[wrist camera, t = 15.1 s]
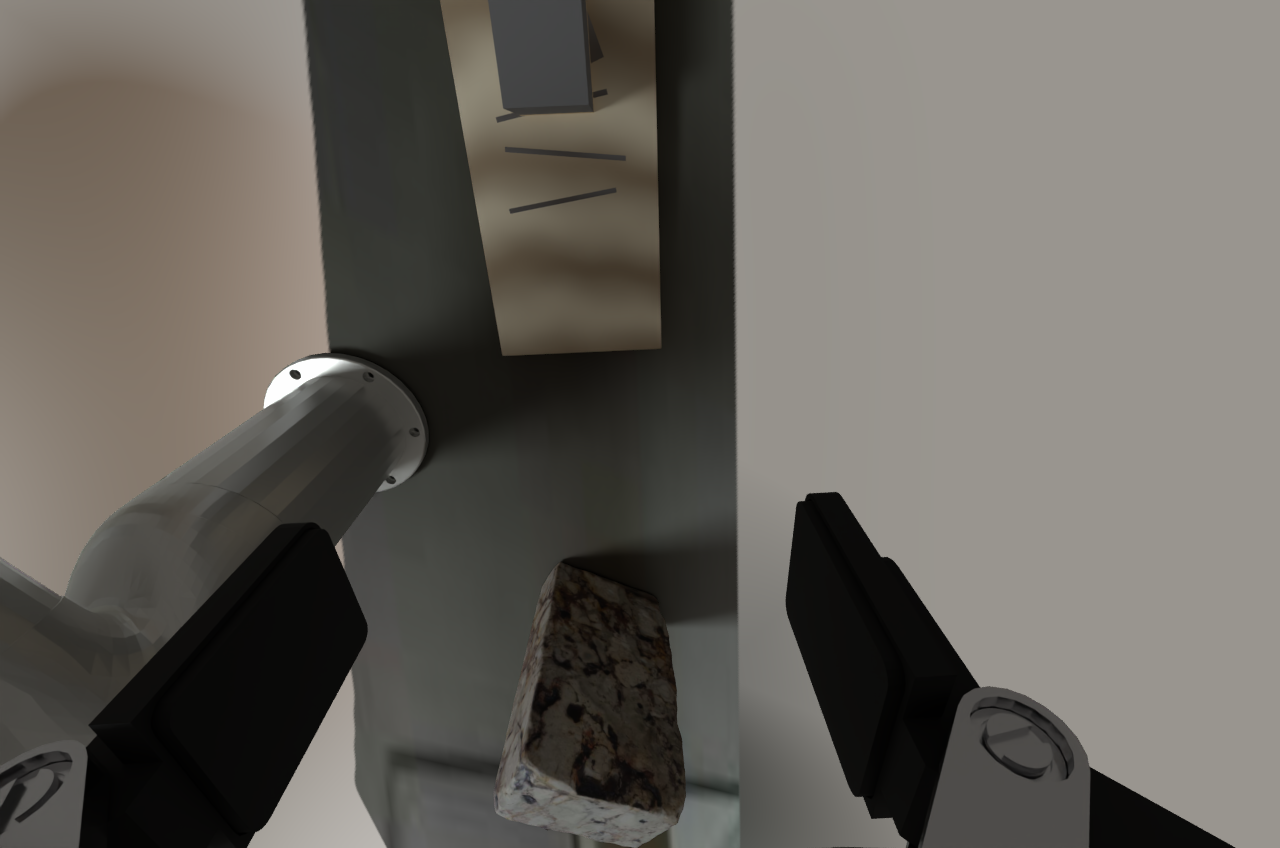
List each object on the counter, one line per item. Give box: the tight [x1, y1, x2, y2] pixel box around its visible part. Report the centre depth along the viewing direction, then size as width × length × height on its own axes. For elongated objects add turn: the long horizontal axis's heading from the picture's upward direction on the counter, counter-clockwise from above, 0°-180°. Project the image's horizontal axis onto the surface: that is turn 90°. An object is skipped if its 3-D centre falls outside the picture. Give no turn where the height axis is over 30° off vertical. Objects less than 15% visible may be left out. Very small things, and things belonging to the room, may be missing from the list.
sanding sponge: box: [488, 0, 594, 116], centre depth 27 cm, size 8×4×5 cm, turn 2°
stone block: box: [494, 562, 686, 848], centre depth 43 cm, size 13×7×20 cm, turn 66°
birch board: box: [440, 0, 661, 356], centre depth 33 cm, size 24×12×2 cm, turn 2°
